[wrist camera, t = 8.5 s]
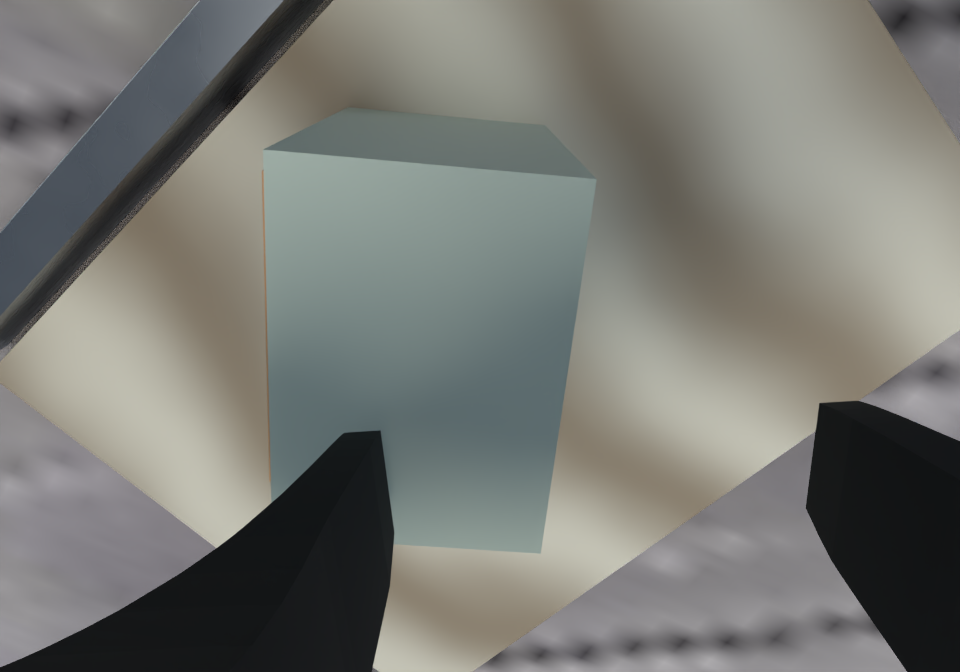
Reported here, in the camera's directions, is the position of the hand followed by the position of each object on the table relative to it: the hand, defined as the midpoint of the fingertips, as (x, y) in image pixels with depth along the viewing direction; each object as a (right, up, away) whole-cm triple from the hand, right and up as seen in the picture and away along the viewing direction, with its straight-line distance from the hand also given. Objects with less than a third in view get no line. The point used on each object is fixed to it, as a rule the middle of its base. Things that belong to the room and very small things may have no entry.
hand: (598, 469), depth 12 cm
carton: (-3, +5, +8) cm, 9 cm away
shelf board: (-1, +3, +10) cm, 10 cm away
